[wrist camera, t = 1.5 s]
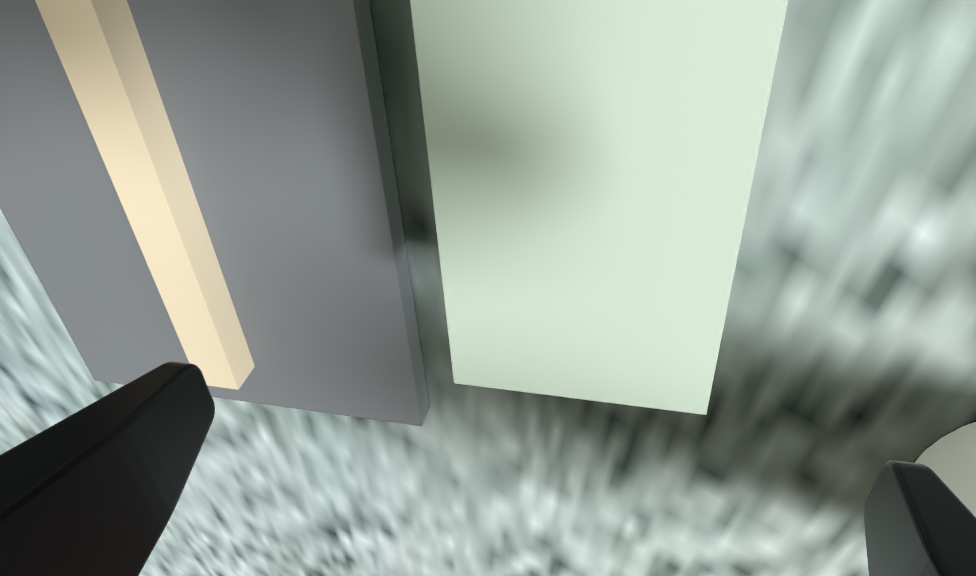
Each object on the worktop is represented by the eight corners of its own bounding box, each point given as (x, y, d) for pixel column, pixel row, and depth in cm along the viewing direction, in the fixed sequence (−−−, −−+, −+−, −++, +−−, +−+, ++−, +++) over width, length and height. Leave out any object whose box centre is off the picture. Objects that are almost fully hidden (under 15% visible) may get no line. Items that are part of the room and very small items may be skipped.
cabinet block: (767, -122, 14) (802, -68, 10) (698, 297, 21) (701, 438, 16) (481, -114, 15) (402, -63, 11) (501, 279, 22) (456, 405, 18)
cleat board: (282, -582, 12) (213, -639, 10) (429, 406, 26) (411, 451, 24) (-322, -469, 15) (-454, -499, 13) (110, 363, 29) (74, 401, 27)
